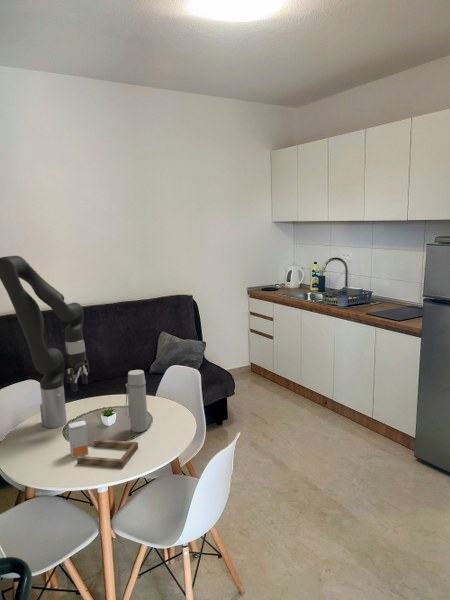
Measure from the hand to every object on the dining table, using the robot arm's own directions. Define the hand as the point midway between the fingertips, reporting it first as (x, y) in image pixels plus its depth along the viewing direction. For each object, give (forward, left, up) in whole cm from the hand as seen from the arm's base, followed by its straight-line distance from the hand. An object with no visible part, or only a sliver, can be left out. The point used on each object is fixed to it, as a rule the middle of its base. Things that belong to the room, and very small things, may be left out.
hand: (80, 387), depth 181 cm
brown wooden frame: (+22, -22, -17) cm, 36 cm away
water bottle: (+25, 0, -17) cm, 30 cm away
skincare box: (+11, -22, -18) cm, 30 cm away
